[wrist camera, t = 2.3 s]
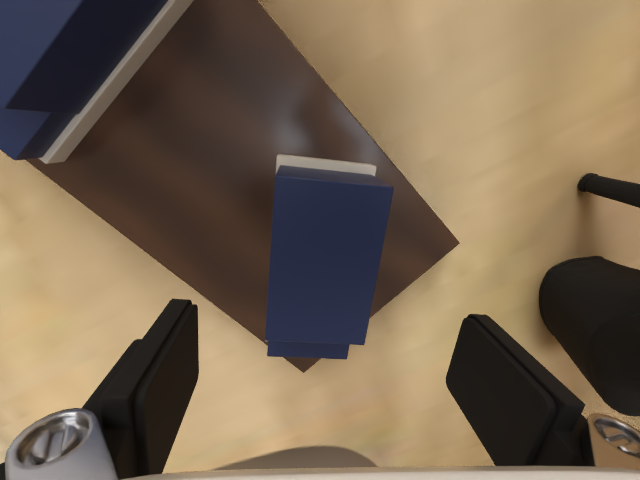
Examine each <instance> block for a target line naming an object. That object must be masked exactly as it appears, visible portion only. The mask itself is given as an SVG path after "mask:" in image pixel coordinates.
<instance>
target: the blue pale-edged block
mask: <svg viewBox="0 0 640 480" xmlns="http://www.w3.org/2000/svg"><path fill="white" fill-rule="evenodd" d="M375 173H376V166H374V165H372V164H366V163H357V162H348V161H338V160H329V159H320V158H311V157H302V156H293V155H284V154H278V155H277V161H276V175H275V183H274V199H273V215H272V231H271V247H270V263H269V278H268V294H267V310H266V326H265V341H268V352H267V356H275V357H302V358H328V359H347V356H348V350H349V344H353V345H364V343H365V338H366V333H367V328H368V322H369V317H370V312H371V307H372V301H373V296H374V291H375V286H376V280H377V275H378V270H379V265H380V259H381V254H382V249H383V244H384V238H385V233H386V228H387V223H388V217H389V212H390V207H391V202H392V196H393V191H394V187H392V186H391V185H389V184H387V183H385V182H383V181H382V180H380V179H378V178H376V177H375Z"/></svg>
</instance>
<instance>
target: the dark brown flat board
mask: <svg viewBox="0 0 640 480" xmlns="http://www.w3.org/2000/svg"><path fill="white" fill-rule="evenodd" d="M278 154H284V155H293V156H302V157H311V158H320V159H329V160H338V161H348V162H357V163H366V164H372V165H374V166H376V173H375V177H376V178H378V179H380V180H382V181H383V182H385V183H387V184H389V185H391V186H392V187H394V191H393V196H392V202H391V207H390V212H389V217H388V223H387V228H386V233H385V238H384V244H383V249H382V254H381V259H380V265H379V270H378V275H377V280H376V286H375V291H374V296H373V301H372V307H371V312H370V317H372V316H373V315H374V314H375V313H376V312H378V311H379V310H380V309H381V308H382V307H384V306H385V305H386V304H387V303H388V302H390V301H391V300H392V299H393V298H394V297H396V296H397V295H398V294H399V293H400V292H402V291H403V290H404V289H405V288H406V287H408V286H409V285H410V284H411V283H412V282H414V281H415V280H416V279H417V278H419V277H420V276H421V275H422V274H423V273H425V272H426V271H427V270H428V269H429V268H431V267H432V266H433V265H434V264H435V263H437V262H438V261H439V260H440V259H441V258H443V257H444V256H445V255H446V254H447V253H449V252H450V251H451V250H452V249H453V248H455V247H456V246H457V245H458V244H459V241H458V240H457V239H456V238H455V237H454V235H453V234H452V233H451V232H450V231H449V229H448V228H447V227H446V226H445V225H444V223H443V222H442V221H441V220H440V219H439V217H438V216H437V215H436V214H435V213H434V212H433V210H432V209H431V208H430V207H429V206H428V204H427V203H426V202H425V201H424V200H423V198H422V197H421V196H420V195H419V194H418V192H417V191H416V190H415V189H414V188H413V186H412V185H411V184H410V183H409V182H408V180H407V179H406V178H405V177H404V176H403V174H402V173H401V172H400V171H399V170H398V169H397V167H396V166H395V165H394V164H393V163H392V161H391V160H390V159H389V158H388V157H387V155H386V154H385V153H384V152H383V151H382V149H381V148H380V147H379V146H378V145H377V143H376V142H375V141H374V140H373V139H372V137H371V136H370V135H369V134H368V133H367V132H366V130H365V129H364V128H363V127H362V126H361V124H360V123H359V122H358V121H357V120H356V118H355V117H354V116H353V115H352V114H351V112H350V111H349V110H348V109H347V108H346V106H345V105H344V104H343V103H342V102H341V100H340V99H339V98H338V97H337V96H336V94H335V93H334V92H333V91H332V90H331V89H330V87H329V86H328V85H327V84H326V83H325V81H324V80H323V79H322V78H321V77H320V75H319V74H318V73H317V72H316V71H315V69H314V68H313V67H312V66H311V65H310V63H309V62H308V61H307V60H306V59H305V57H304V56H303V55H302V54H301V53H300V52H299V50H298V49H297V48H296V47H295V46H294V44H293V43H292V42H291V41H290V40H289V38H288V37H287V36H286V35H285V34H284V32H283V31H282V30H281V29H280V28H279V26H278V25H277V24H276V23H275V22H274V20H273V19H272V18H271V17H270V16H269V14H268V13H267V12H266V11H265V10H264V9H263V7H262V6H261V5H260V4H259V3H258V1H257V0H194V1H193V2H192V3H191V5H190V6H189V7H188V8H187V10H186V11H185V12H184V13H183V14H182V16H181V17H180V18H179V19H178V21H177V22H176V23H175V24H174V26H173V27H172V28H171V29H170V31H169V32H168V33H167V34H166V36H165V37H164V38H163V39H162V41H161V42H160V43H159V44H158V46H157V47H156V48H155V49H154V51H153V52H152V53H151V54H150V56H149V57H148V58H147V59H146V61H145V62H144V63H143V64H142V66H141V67H140V68H139V69H138V71H137V72H136V73H135V74H134V75H133V77H132V78H131V79H130V80H129V82H128V83H127V84H126V85H125V87H124V88H123V89H122V90H121V92H120V93H119V94H118V95H117V97H116V98H115V99H114V100H113V102H112V103H111V104H110V105H109V107H108V108H107V109H106V110H105V112H104V113H103V114H102V115H101V117H100V118H99V119H98V120H97V122H96V123H95V124H94V125H93V127H92V128H91V129H90V130H89V132H88V133H87V134H86V135H85V136H84V138H83V139H82V140H81V141H80V143H79V144H78V145H77V146H76V148H75V149H74V150H73V151H72V153H71V154H70V155H69V156H68V158H67V159H66V160H65V161H64V162H57V163H50V164H45V163H44V162H43V161H41V160H40V159H39V158H33V159H25V160H26V161H28V162H29V163H30V164H32V165H33V166H34V167H36V168H37V169H38V170H40V171H41V172H42V173H43V174H45V175H46V176H47V177H49V178H50V179H51V180H53V181H54V182H55V183H57V184H58V185H59V186H60V187H62V188H63V189H64V190H66V191H67V192H68V193H70V194H71V195H72V196H73V197H75V198H76V199H77V200H79V201H80V202H81V203H83V204H84V205H85V206H87V207H88V208H89V209H90V210H92V211H93V212H94V213H96V214H97V215H98V216H100V217H101V218H102V219H103V220H105V221H106V222H107V223H109V224H110V225H111V226H113V227H114V228H115V229H117V230H118V231H119V232H120V233H122V234H123V235H124V236H126V237H127V238H128V239H130V240H131V241H132V242H134V243H135V244H136V245H137V246H139V247H140V248H141V249H143V250H144V251H145V252H147V253H148V254H149V255H150V256H152V257H153V258H154V259H156V260H157V261H158V262H160V263H161V264H162V265H164V266H165V267H166V268H167V269H169V270H170V271H171V272H173V273H174V274H175V275H177V276H178V277H179V278H180V279H182V280H183V281H184V282H186V283H187V284H188V285H190V286H191V287H192V288H194V289H195V290H196V291H197V292H199V293H200V294H201V295H203V296H204V297H205V298H207V299H208V300H209V301H211V302H212V303H213V304H214V305H216V306H217V307H218V308H220V309H221V310H222V311H224V312H225V313H226V314H227V315H229V316H230V317H231V318H233V319H234V320H235V321H237V322H238V323H239V324H241V325H242V326H243V327H244V328H246V329H247V330H248V331H250V332H251V333H252V334H254V335H255V336H256V337H257V338H259V339H260V340H261V341H263V342H264V343H265V344H267V345H268V341H265V326H266V310H267V294H268V278H269V263H270V247H271V231H272V215H273V199H274V183H275V175H276V161H277V155H278ZM370 317H369V318H370ZM284 358H285V359H286V360H287V361H289V362H290V363H291V364H293V365H294V366H295V367H297V368H298V369H299V370H301V371H302V372H303V373H304V372H305V371H306V370H308V369H309V368H310V367H311V366H312V365H314V364H315V363H316V362H317V361H319V360H320V359H321V358H302V357H284Z"/></svg>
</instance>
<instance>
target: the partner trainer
mask: <svg viewBox="0 0 640 480" xmlns="http://www.w3.org/2000/svg"><path fill="white" fill-rule="evenodd" d="M193 1H194V0H0V150H2V151H3V152H4V153H6V154H7V155H8V156H10V157H11V158H12V159H14V160H23V159H33V158H39V159H40V160H41V161H43V162H44V163H45V164H50V163H57V162H64V161H65V160H66V159H67V158H68V156H69V155H70V154H71V153H72V151H73V150H74V149H75V148H76V146H77V145H78V144H79V143H80V141H81V140H82V139H83V138H84V136H85V135H86V134H87V133H88V132H89V130H90V129H91V128H92V127H93V125H94V124H95V123H96V122H97V120H98V119H99V118H100V117H101V115H102V114H103V113H104V112H105V110H106V109H107V108H108V107H109V105H110V104H111V103H112V102H113V100H114V99H115V98H116V97H117V95H118V94H119V93H120V92H121V90H122V89H123V88H124V87H125V85H126V84H127V83H128V82H129V80H130V79H131V78H132V77H133V75H134V74H135V73H136V72H137V71H138V69H139V68H140V67H141V66H142V64H143V63H144V62H145V61H146V59H147V58H148V57H149V56H150V54H151V53H152V52H153V51H154V49H155V48H156V47H157V46H158V44H159V43H160V42H161V41H162V39H163V38H164V37H165V36H166V34H167V33H168V32H169V31H170V29H171V28H172V27H173V26H174V24H175V23H176V22H177V21H178V19H179V18H180V17H181V16H182V14H183V13H184V12H185V11H186V10H187V8H188V7H189V6H190V5H191V3H192V2H193Z"/></svg>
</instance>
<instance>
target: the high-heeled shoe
mask: <svg viewBox="0 0 640 480" xmlns="http://www.w3.org/2000/svg"><path fill="white" fill-rule="evenodd" d="M578 189H579V190H580V191H583V192H589V193H593V194H596V195H599V196H602V197H606V198H609V199H613V200H616V201H619V202H623V203H626V204H629V205H632V206H636V207H639V208H640V184H636V183H631V182H626V181H621V180H616V179H611V178H607V177H602V176H598V175H597V174H593V173H589V174H586V175H585V176H584V177H582V179H581V180H580V182H579V184H578ZM539 307H540V312H541V316H542V319H543V321H544V323H545V325H546V327H547V328H548V330H549V331H550V332H551V333H552V335H554V336H555V338H556V339H557V340H558V342H559V343H560V344H561V346H562V347H563V348H564V350H565V351H566V352H567V354H568V355H569V356H570V358H571V359H572V360H573V362H574V363H575V364H576V366H577V367H578V368H579V370H580V371H581V372H582V374H583V375H584V376H585V378H586V379H587V380H588V381H589V383H590V384H591V385H592V386H593V388H594V389H595V390H596V392H597V393H598V394H599V395H600V397H601V398H602V399H603V401H604V402H605V403H606V404H608V405H609V406H610V407H611V408H613V409H614V410H616V411H618V412H619V413H622V414H625V415H629V416H640V270H638V269H634V268H630V267H626V266H623V265H620V264H617V263H614V262H611V261H609V260H606V259H604V258H603V257H601V256H592V257H583V258H576V259H570V260H567V261H564V262H562V263H560V264H558V265H556V266H554V267H552V268H551V269H550V270H549V271H548V272H547V274H546V276H545V277H544V279H543V282H542V284H541V287H540V293H539Z"/></svg>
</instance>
